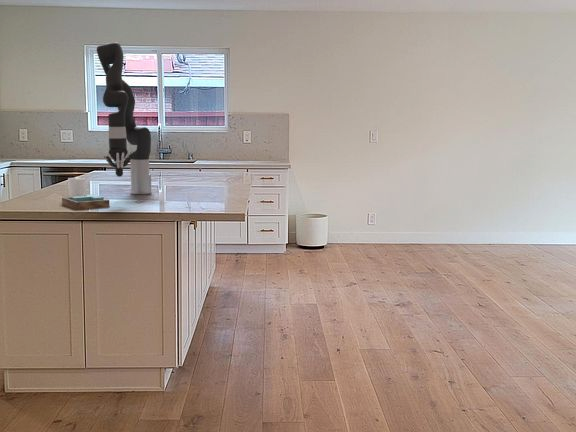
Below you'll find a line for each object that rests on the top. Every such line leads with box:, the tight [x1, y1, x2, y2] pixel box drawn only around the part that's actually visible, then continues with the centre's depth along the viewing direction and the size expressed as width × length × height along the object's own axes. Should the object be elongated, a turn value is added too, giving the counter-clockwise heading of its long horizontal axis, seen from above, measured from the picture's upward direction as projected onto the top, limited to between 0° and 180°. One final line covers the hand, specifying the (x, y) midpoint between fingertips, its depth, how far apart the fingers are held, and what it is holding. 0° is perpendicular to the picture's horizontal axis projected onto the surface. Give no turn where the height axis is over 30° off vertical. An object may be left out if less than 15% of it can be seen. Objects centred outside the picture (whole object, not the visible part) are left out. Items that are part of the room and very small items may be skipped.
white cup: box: [67, 177, 87, 197], centre depth 282 cm, size 8×8×10 cm
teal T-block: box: [71, 194, 105, 202], centre depth 266 cm, size 11×12×4 cm
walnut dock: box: [61, 196, 111, 210], centre depth 266 cm, size 14×17×3 cm
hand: (119, 176), depth 273 cm, fingers closed
